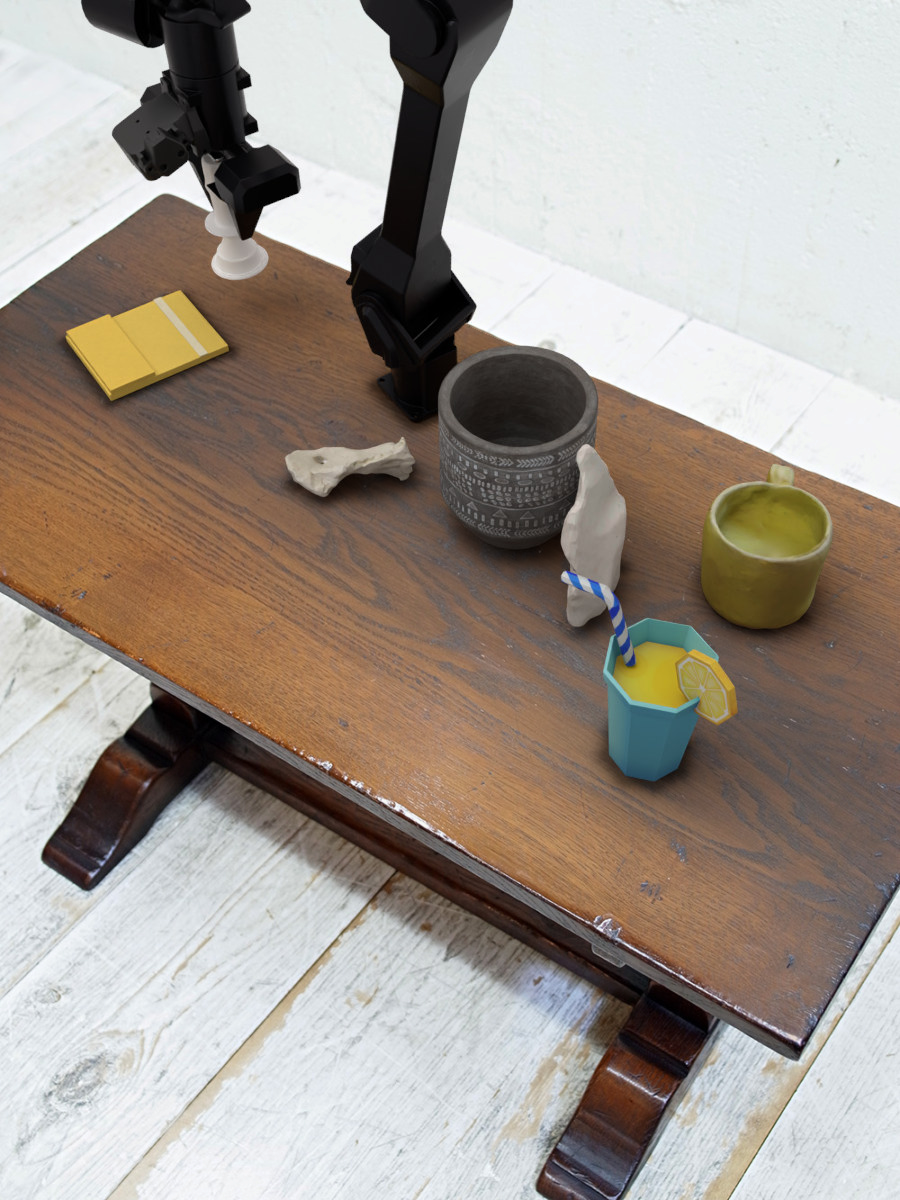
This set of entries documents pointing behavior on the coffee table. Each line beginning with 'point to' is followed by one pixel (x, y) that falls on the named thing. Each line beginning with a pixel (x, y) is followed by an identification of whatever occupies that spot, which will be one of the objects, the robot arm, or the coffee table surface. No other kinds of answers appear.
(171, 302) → the towel
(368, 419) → the coffee table surface
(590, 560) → the stone
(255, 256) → the candle
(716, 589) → the mug
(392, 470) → the off-white irregular piece
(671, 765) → the cup
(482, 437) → the planter
